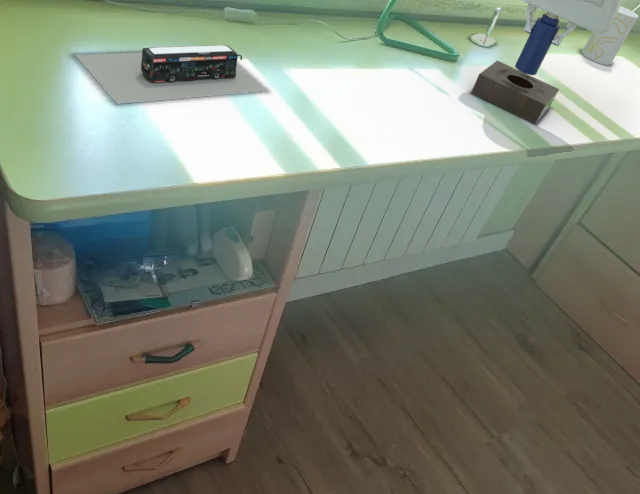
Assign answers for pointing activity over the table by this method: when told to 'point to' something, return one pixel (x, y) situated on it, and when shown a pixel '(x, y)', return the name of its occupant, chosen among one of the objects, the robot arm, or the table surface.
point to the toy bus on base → (170, 73)
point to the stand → (487, 32)
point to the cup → (610, 38)
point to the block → (515, 91)
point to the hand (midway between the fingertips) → (541, 38)
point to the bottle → (538, 44)
